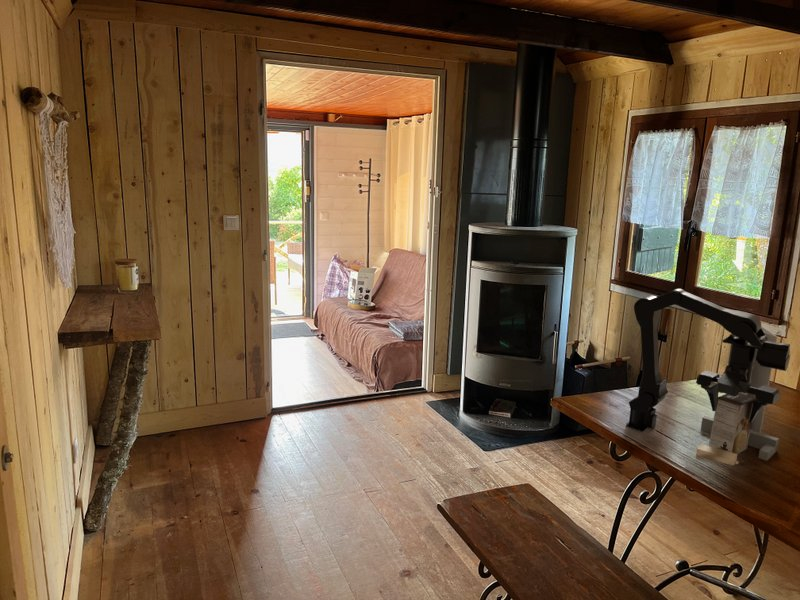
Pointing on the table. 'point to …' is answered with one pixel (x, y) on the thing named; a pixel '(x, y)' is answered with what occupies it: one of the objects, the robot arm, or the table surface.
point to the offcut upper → (716, 454)
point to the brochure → (760, 382)
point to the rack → (751, 439)
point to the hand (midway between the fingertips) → (732, 416)
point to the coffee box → (732, 423)
